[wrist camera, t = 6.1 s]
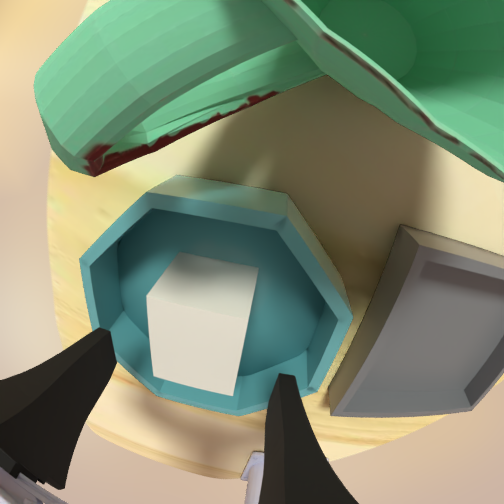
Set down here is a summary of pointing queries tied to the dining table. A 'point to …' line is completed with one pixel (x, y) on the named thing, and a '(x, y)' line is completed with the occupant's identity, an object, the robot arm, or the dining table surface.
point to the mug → (272, 71)
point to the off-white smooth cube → (200, 321)
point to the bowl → (231, 250)
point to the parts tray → (426, 332)
